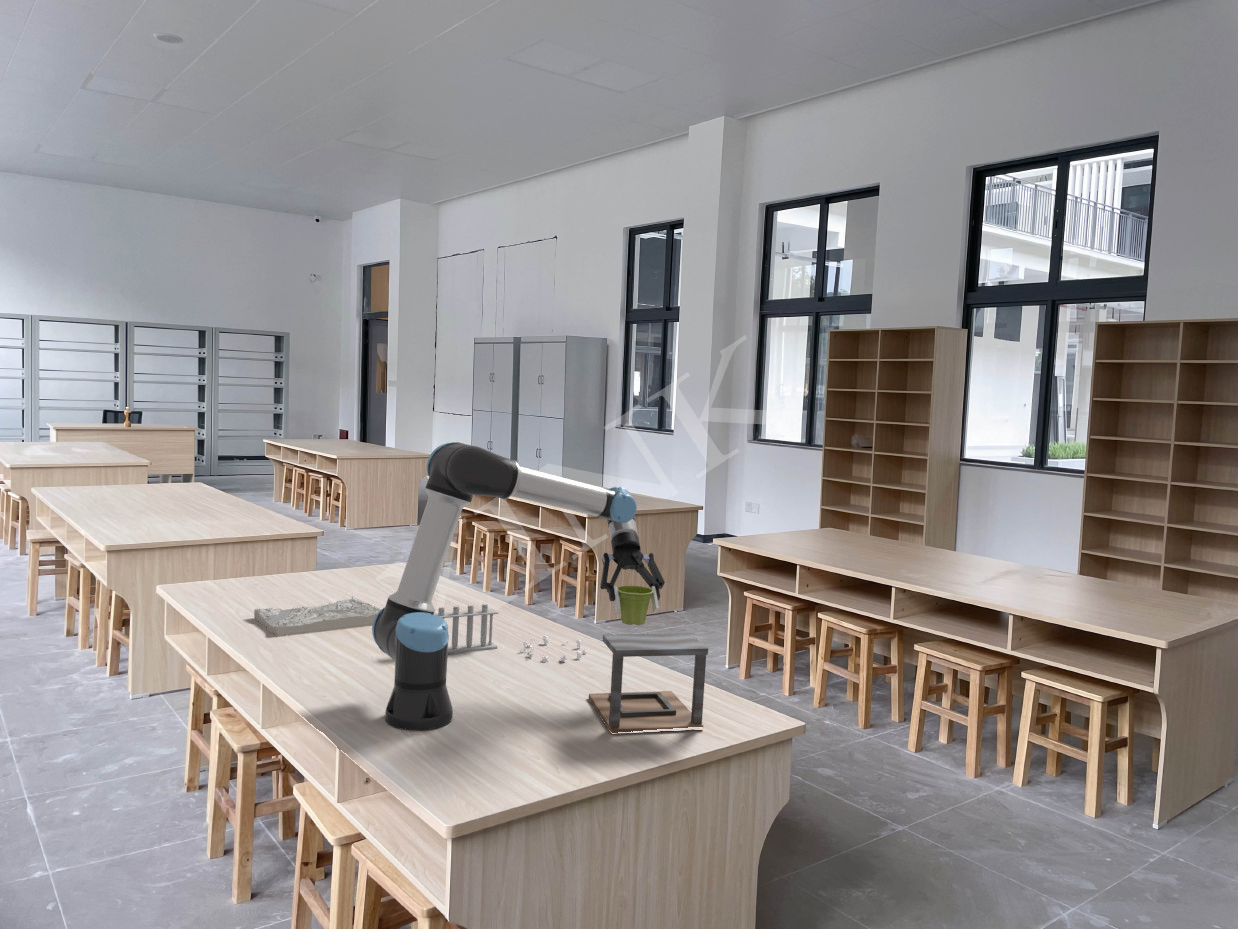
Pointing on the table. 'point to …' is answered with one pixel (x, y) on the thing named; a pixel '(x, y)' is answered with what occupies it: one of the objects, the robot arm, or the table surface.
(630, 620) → the plant pot
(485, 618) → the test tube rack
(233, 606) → the table surface
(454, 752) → the table surface
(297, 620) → the topographic model
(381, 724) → the table surface
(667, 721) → the roofed stand
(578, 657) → the game piece set
